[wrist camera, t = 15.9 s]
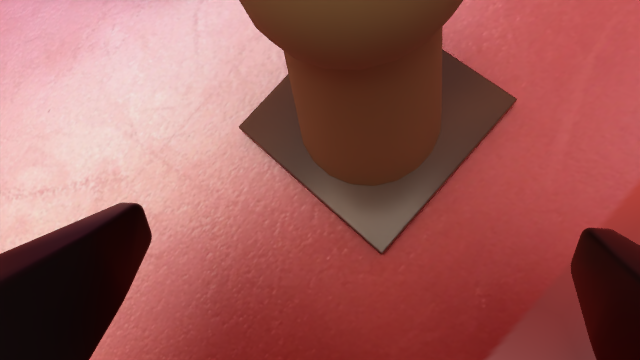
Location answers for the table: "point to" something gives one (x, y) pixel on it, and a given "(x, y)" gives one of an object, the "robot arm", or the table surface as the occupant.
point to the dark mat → (398, 196)
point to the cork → (362, 80)
